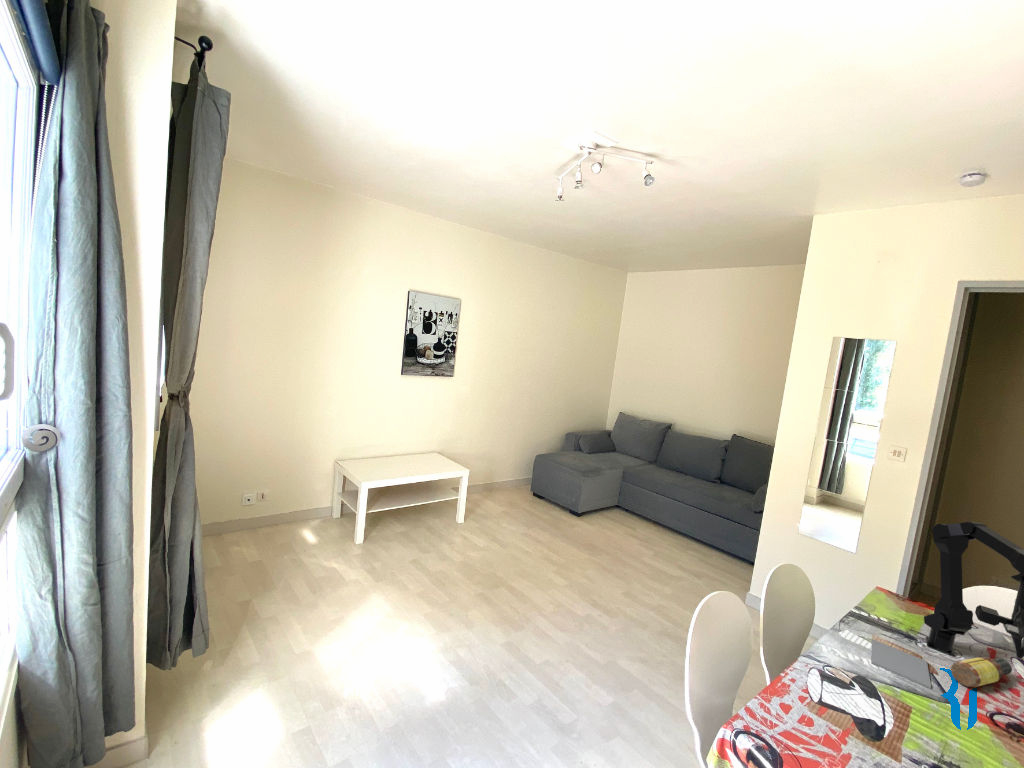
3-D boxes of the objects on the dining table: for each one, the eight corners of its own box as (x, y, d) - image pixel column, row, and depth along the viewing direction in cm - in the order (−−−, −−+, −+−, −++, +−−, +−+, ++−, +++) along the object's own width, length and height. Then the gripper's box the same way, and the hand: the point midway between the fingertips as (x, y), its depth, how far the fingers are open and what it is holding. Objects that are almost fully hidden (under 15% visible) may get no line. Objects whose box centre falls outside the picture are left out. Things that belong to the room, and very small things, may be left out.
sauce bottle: (975, 692, 124) (1020, 684, 130) (976, 669, 125) (1021, 662, 131) (946, 678, 131) (990, 671, 137) (947, 656, 131) (991, 650, 137)
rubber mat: (872, 640, 144) (872, 639, 144) (926, 662, 136) (926, 661, 136) (871, 663, 133) (871, 661, 133) (930, 688, 125) (931, 686, 125)
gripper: (988, 599, 122) (975, 653, 123) (1097, 633, 110) (1082, 692, 111) (980, 584, 130) (969, 635, 132) (1081, 615, 119) (1067, 670, 120)
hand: (1018, 657), depth 123 cm, fingers closed
